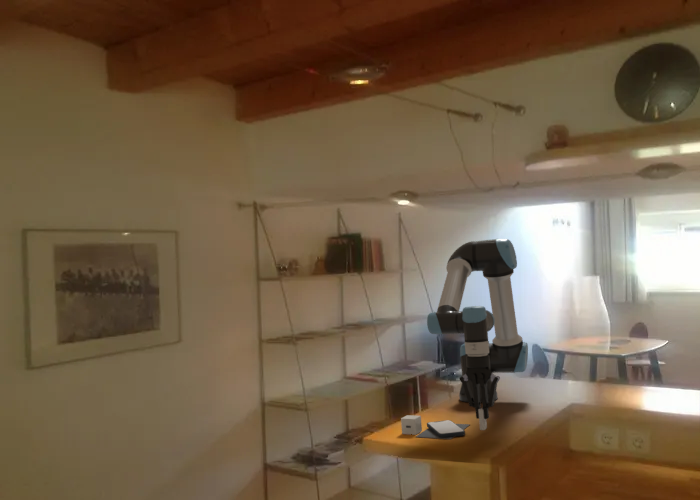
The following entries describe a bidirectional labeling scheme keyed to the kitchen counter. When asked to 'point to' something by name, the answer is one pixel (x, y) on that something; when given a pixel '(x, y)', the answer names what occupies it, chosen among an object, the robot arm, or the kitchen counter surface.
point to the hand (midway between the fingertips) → (483, 428)
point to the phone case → (445, 429)
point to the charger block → (411, 424)
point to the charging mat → (431, 434)
